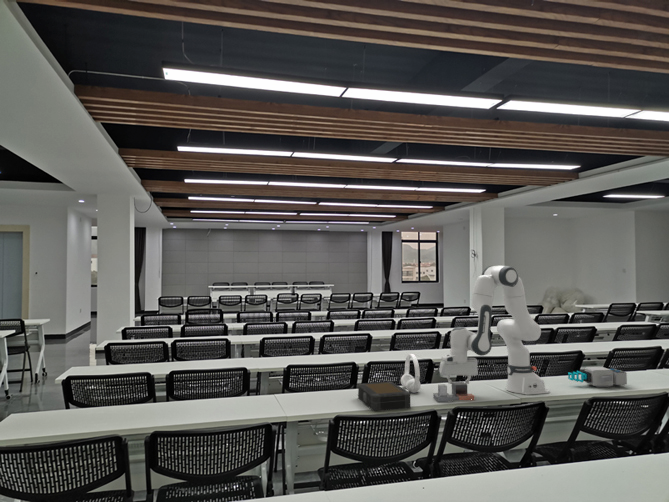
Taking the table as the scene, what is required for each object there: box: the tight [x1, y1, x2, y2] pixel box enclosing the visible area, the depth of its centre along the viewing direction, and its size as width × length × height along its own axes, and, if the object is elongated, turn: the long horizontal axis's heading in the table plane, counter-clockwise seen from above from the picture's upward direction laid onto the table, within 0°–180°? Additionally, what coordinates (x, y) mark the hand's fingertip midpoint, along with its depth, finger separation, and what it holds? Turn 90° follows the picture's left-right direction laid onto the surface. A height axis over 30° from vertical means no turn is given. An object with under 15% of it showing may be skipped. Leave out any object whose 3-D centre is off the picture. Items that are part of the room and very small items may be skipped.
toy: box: [567, 366, 628, 388], centre depth 265 cm, size 16×10×30 cm
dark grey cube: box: [451, 381, 469, 395], centre depth 247 cm, size 6×6×6 cm
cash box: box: [357, 381, 411, 412], centre depth 233 cm, size 25×20×8 cm
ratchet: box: [432, 384, 475, 403], centre depth 238 cm, size 20×8×8 cm, turn 94°
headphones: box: [400, 353, 421, 394], centre depth 258 cm, size 20×8×20 cm, turn 9°
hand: (458, 383), depth 247 cm, fingers open, 8 cm apart
